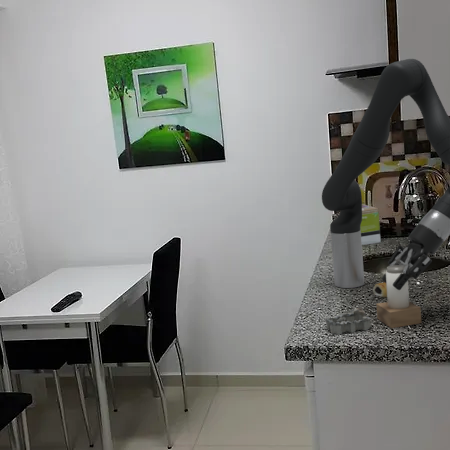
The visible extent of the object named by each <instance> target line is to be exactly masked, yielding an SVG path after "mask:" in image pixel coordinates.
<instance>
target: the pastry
mask: <svg viewBox="0 0 450 450" xmlns="http://www.w3.org/2000/svg"><path fill="white" fill-rule="evenodd" d="M372 293H373V295H375V296H376V297H381V298H386V299H387V284H386V283H385V282H384V281H383V282H378V283H376V284H375V285H374V287H373V289H372Z"/></svg>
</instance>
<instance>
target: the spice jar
mask: <svg viewBox="0 0 450 450" xmlns="http://www.w3.org/2000/svg"><path fill="white" fill-rule="evenodd" d="M404 268H405V266H403V265H400V264H399V265H391V266H390V265H388V266H387V267H386V270H385V273H386V284H387V298H386V299H387V301H386V302H388V307H389V308H393V309H403V308H407V307H409V301H410V296H409V280H408V281H407V282H406V283H405V285H404V286H403V287H402V288H401V290H397V289H396V288H395V287H394V286H393V283H394V282H395V280H396V279H397V278H398V277H399V275H400V274H401V273H402V272H403V270H404ZM402 274H403V273H402Z"/></svg>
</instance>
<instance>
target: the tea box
mask: <svg viewBox="0 0 450 450" xmlns="http://www.w3.org/2000/svg"><path fill="white" fill-rule="evenodd" d="M380 226H381V225H380V213H379V208H378V207H375V206H371V205H367V204H365V203H362V222H361V225H360V229H361V242H362V246H366V245H372V244H378V243H381V242H382V241H381V227H380Z"/></svg>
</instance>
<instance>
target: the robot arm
mask: <svg viewBox="0 0 450 450" xmlns="http://www.w3.org/2000/svg"><path fill="white" fill-rule="evenodd" d="M408 96H409V97H410V98H411V99H412V100H413V101H414V102H415V104H416V105H417V107H418V109H419V111H420V113H421V115H422V120H423V125H424V130H425V134H426V137H427V138H428V141H429V143H430V145H431V146H432V148H433V149H434V151H435V152H436V154H437V156H438V157H439V158H440V160H441V161H442V163H443V164H444V165H446V166H450V117H449V114H448V113H447V110H445V107H444V105H443V103H442V101H441V99H440V97H439V96H440V95H439V94H438V92H437V90H436V88H435V86H434V83H433V81H432V79H431V77H430V74H429V72H428V70H427V69H426V67H425V65H424V64H423V63H422V62H421V61H420V60H418V59H416V58H407V59H402V60H398V61H393V62H391V63H390V64H388V65H387V66H386V67H384V69H383V70H382V72H381V74H380V76H379V79H378V80H377V84H376V87H375V89H374V92H373V94H372V97H371V100H370V102H369V105H368V106H367V108H366V110H365V112H364V114H363V116H362V118H361V121H360V122H359V124H358V126H357V128H356V129H355V132H354V133H353V135H352V137H351V139H350V142H349V143H348V146H347V148H346V149H345V151H344V153H343V155H342V157H341V160H340V161H339V163H338V164H337V167H335V170H334V171H333V172H332V174H331V175H330V177H329V179H328V180H327V182H326V183H325V185H324V186H323V189H322V191H321V192H322V193H321V202H322V205H323V206H324V208H325V210H328V211H331V212H338V211H340V213H339V215H338V216H337V217H336V218H335V219H334V220H333V221H332V222H330V225H329V230H330V241H331V242H330V243H331V253H332V266H333V268H332V269H333V280H334V281H333V282H334V286H335V287H337V288H341V289H352V288H353V289H354V288H359V287H362V286H364V285H365V275H364V274H365V273H364V272H365V271H364V259H363V245H362V242H361V229H360V225H361V222H362V204H363V197H362V190H361V186H360V184H359V183H358V182H357V181H356V179H357V178H358V177H360V176H361V175H362V174H363V173H364V172H365V171H366V170H368V169H369V168H370V167H371V166H372V165H373V164H374V163H375V162H376V161H377V159H379V157H380V156H381V153H382V152H383V150H384V148H385V147H386V145H387V143H388V141H389V138H390V130H391V128H390V125H391V119H392V116H393V114H394V113H395V111H396V109H397V107H398V106H399V104H400V103H401V101H402V100H403V99H404V98H405V97H408ZM449 236H450V185H449V186H448V188H447V189H446V191H445V192H444V193H443V195H442V196H441V197H439V198H438V200H437V201H436V202H435V204H434V205H433V206H432V207H431V209H430V210H429V211H428V212H427V213H426V214H425V215H424V216H423V217H422V219H421V220H420V221H419V222H418V223H417V225H416V226H415V227H414V228H413V230H412V231H411V233H410V234H409V235H408V241H409V243H408V244H407V245H406V246H405V247H404V246H402V245H401V244H400V245H398V246H397V248H396V249H395V251H394V253H393V254H392V255H391V257H390V258H389V260H388V261H387V264H388V266H391V265H403V266H405V268H404V270H403V272H402V273H403V274H402V273H401V274H400V275H399V277H398V278H397V279H396V280H395V282H394V283H393V286H394V287H395V288H396V289H397V290H401V288H402V287H403V286H404V285H405V283H406V282H407V281H408V282H409V280H412V279H415V280H416V279H418V277H419V276H420V275H421V274H422V273H424V271H425V270H426V269H427V268H428V267H429V266H430V265H431V263H432V262H433V260H432V259H431V258H430V257H429V256H434V255H435V254H436V252H437V251H439V248H441V246H442V245H443V243H444V242H445V241H446V240H447V239H448V237H449ZM428 255H429V256H428ZM381 281H383V283H384V282H385V283H386V272H384V275H382V277H381Z"/></svg>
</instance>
